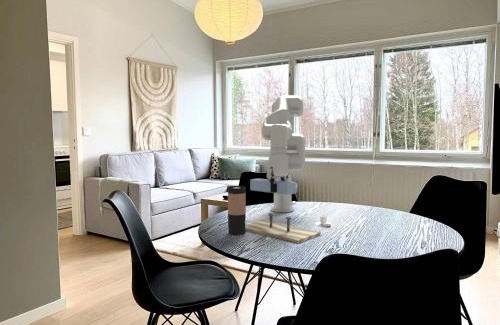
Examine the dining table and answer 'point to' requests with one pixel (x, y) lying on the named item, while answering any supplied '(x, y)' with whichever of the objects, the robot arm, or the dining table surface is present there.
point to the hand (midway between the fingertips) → (278, 191)
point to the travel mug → (236, 210)
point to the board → (281, 230)
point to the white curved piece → (323, 221)
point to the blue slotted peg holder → (265, 184)
